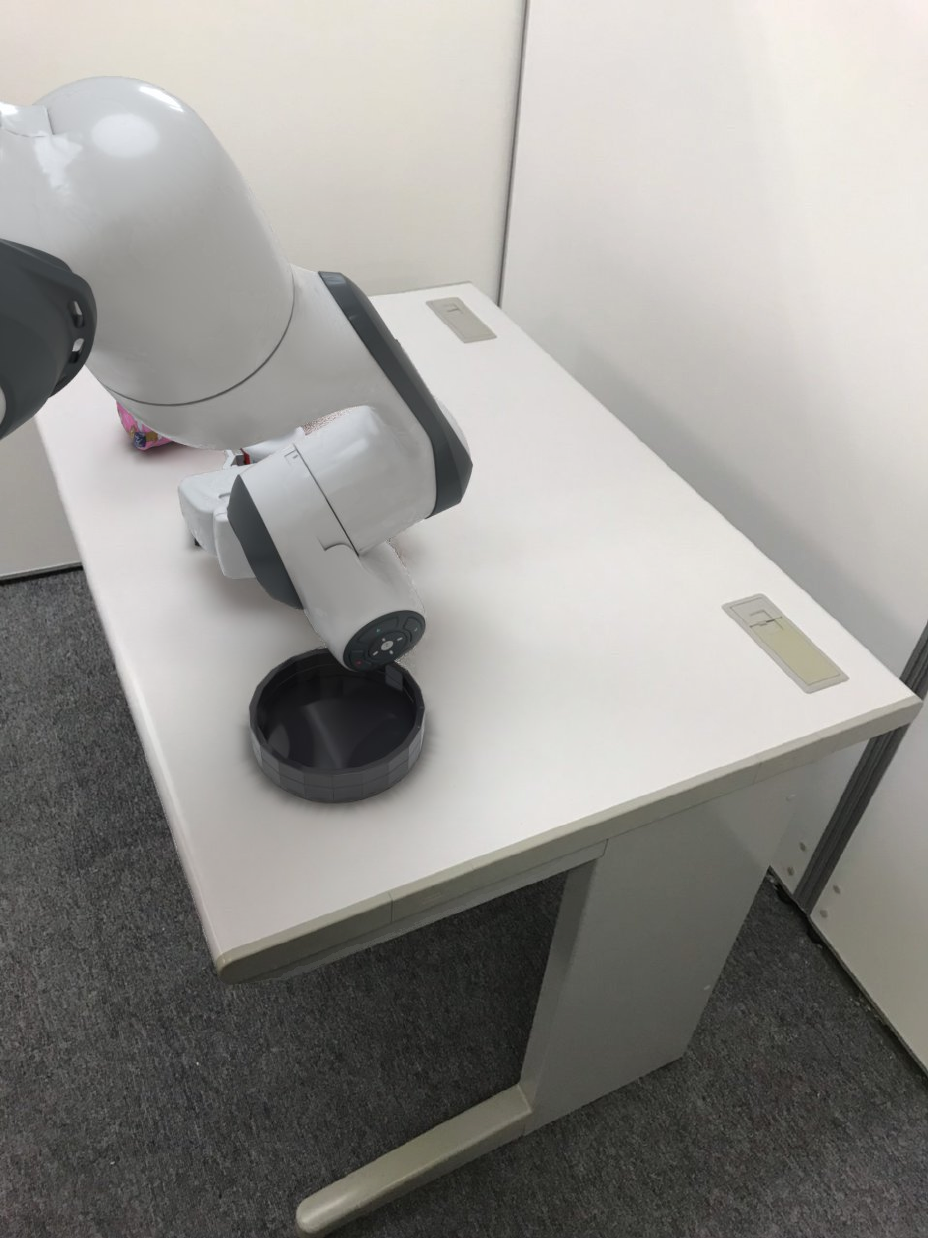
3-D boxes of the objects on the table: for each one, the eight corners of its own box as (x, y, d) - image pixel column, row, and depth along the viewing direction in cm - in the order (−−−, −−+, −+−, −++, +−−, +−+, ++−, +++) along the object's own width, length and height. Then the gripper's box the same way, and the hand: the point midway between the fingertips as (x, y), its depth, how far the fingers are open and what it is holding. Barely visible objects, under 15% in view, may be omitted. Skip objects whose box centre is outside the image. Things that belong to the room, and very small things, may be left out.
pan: (256, 813, 70) (252, 785, 68) (249, 682, 79) (246, 655, 77) (436, 790, 72) (438, 763, 70) (408, 666, 82) (409, 639, 80)
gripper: (430, 473, 85) (372, 398, 94) (197, 523, 78) (159, 436, 87) (427, 530, 89) (373, 453, 98) (207, 583, 82) (169, 494, 91)
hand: (271, 446), depth 93 cm, fingers closed on pill bottle, 6 cm apart
